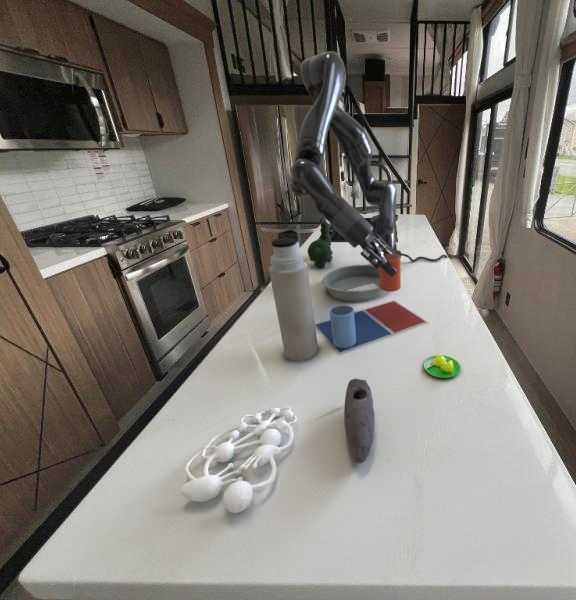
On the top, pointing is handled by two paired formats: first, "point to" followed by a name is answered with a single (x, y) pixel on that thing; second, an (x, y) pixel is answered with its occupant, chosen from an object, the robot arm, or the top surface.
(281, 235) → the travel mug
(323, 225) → the toy figurine
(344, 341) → the blue tumbler
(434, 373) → the green plate with lumps
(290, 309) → the thermos bottle
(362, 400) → the perforated stone tool
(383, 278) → the red tumbler
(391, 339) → the top surface
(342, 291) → the cake pan
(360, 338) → the blue mat
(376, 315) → the red mat
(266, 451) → the tangled rod sculpture
